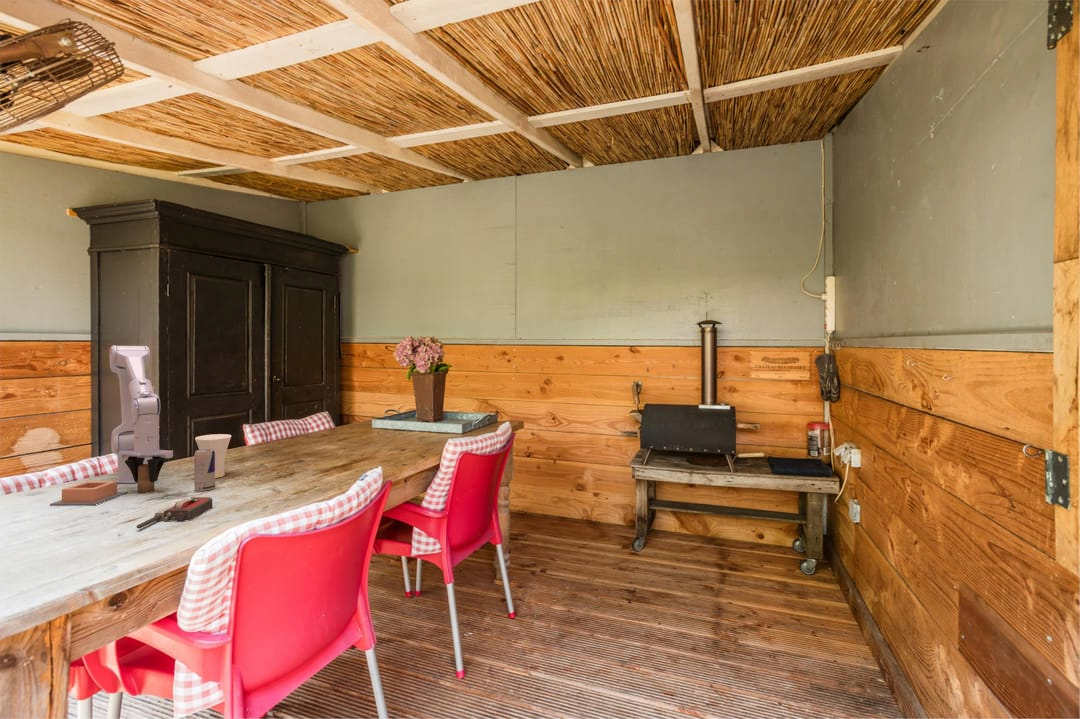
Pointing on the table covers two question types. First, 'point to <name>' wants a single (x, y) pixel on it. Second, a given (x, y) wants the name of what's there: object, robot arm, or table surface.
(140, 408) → the robot arm
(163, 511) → the walkie-talkie
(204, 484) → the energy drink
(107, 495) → the socket
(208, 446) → the cup
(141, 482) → the walnut peg
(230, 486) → the table surface
